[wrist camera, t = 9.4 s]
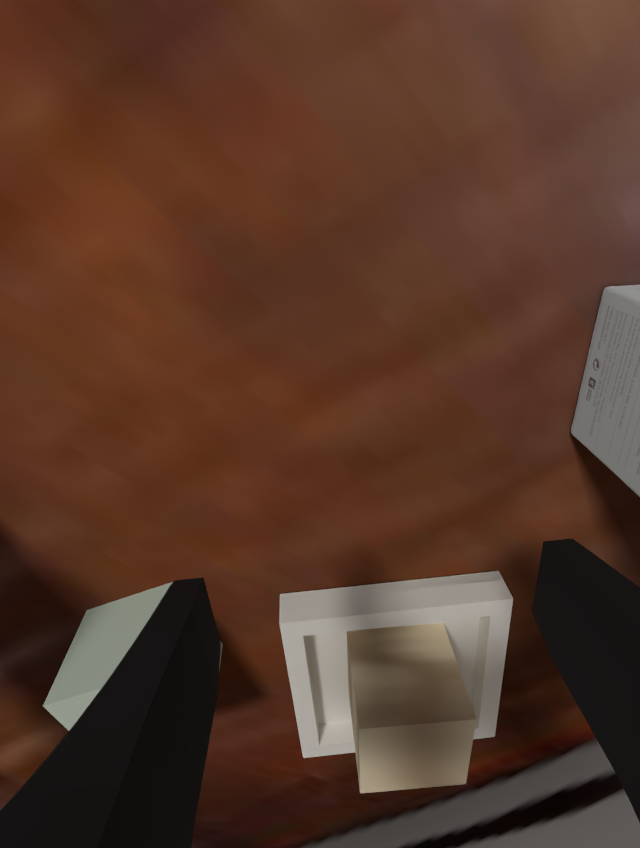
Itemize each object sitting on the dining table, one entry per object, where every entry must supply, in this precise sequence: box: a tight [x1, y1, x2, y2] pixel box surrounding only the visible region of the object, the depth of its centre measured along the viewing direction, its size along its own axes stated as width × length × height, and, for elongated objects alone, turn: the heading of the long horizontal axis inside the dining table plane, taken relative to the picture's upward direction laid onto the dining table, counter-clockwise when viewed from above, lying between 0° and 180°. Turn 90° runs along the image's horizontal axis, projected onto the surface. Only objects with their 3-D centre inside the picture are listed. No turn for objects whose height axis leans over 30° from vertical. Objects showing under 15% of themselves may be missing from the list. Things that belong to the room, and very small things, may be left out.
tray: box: [279, 571, 513, 758], centre depth 26 cm, size 11×11×2 cm
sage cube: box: [43, 582, 223, 740], centre depth 23 cm, size 5×5×5 cm
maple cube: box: [347, 623, 476, 793], centre depth 24 cm, size 5×5×5 cm
